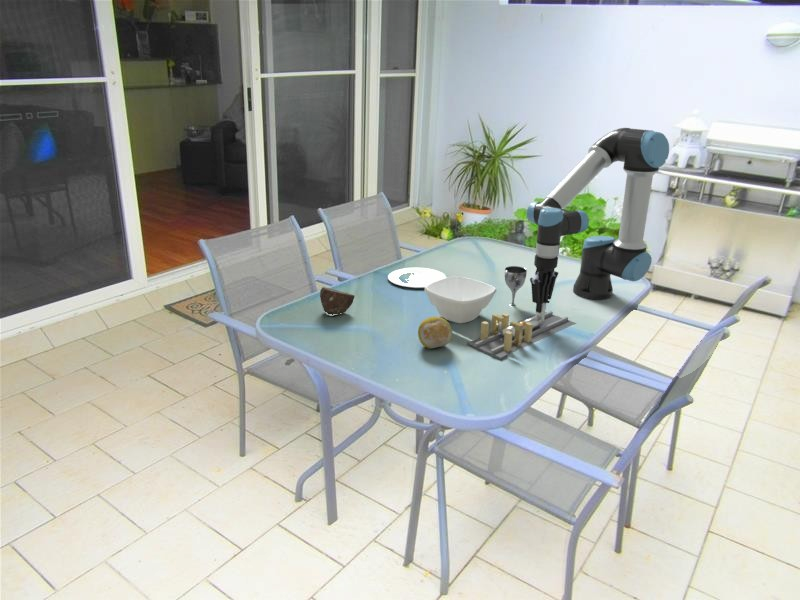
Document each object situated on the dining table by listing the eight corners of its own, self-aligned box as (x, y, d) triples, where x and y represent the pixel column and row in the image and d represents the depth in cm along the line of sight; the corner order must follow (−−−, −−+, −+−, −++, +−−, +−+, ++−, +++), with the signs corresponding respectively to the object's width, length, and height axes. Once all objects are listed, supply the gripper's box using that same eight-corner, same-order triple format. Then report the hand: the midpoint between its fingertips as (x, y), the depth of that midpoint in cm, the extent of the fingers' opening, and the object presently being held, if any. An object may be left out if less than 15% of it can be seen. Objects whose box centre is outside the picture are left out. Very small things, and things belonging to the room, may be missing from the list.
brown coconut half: (355, 296, 222) (354, 290, 212) (347, 322, 220) (346, 317, 210) (323, 287, 222) (320, 281, 212) (315, 313, 220) (312, 308, 210)
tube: (533, 324, 210) (534, 313, 208) (542, 328, 207) (543, 317, 205) (499, 338, 199) (500, 327, 197) (509, 342, 196) (510, 331, 194)
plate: (457, 277, 257) (457, 273, 257) (427, 295, 238) (428, 291, 237) (407, 267, 270) (407, 263, 269) (376, 283, 250) (376, 279, 249)
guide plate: (543, 313, 221) (544, 295, 219) (575, 325, 211) (578, 306, 209) (467, 344, 196) (468, 325, 193) (500, 360, 186) (502, 339, 184)
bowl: (455, 301, 231) (457, 273, 227) (502, 318, 216) (504, 288, 212) (415, 317, 217) (416, 287, 212) (462, 336, 202) (464, 304, 198)
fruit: (412, 343, 197) (413, 315, 193) (441, 338, 201) (443, 310, 197) (426, 356, 188) (426, 327, 184) (456, 350, 192) (457, 322, 188)
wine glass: (523, 311, 222) (526, 273, 216) (501, 310, 223) (504, 272, 218) (523, 304, 229) (526, 266, 224) (502, 302, 231) (505, 265, 225)
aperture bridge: (493, 333, 202) (495, 313, 199) (521, 345, 194) (523, 324, 191) (490, 335, 201) (492, 315, 198) (518, 347, 193) (520, 326, 190)
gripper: (549, 248, 206) (542, 312, 214) (525, 256, 198) (519, 321, 206) (567, 254, 200) (559, 318, 209) (544, 261, 192) (536, 328, 201)
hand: (539, 320), depth 208 cm, fingers closed
